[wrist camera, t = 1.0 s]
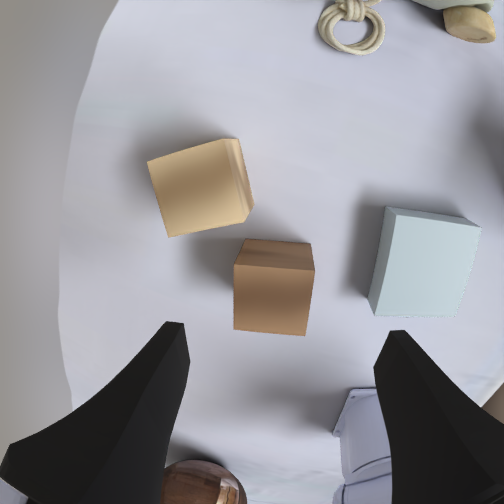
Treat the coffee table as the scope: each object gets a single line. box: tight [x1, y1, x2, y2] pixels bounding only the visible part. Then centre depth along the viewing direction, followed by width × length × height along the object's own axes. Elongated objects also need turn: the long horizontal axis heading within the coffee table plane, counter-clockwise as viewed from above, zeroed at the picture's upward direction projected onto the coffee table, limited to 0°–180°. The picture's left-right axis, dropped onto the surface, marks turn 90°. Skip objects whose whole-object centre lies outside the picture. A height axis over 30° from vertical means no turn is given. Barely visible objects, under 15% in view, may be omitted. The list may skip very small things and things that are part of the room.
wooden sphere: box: [160, 460, 247, 504], centre depth 31 cm, size 15×15×15 cm
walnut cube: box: [234, 239, 315, 336], centre depth 21 cm, size 5×5×5 cm
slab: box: [368, 206, 482, 317], centre depth 20 cm, size 8×8×3 cm
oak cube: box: [147, 139, 254, 238], centre depth 19 cm, size 5×5×5 cm
